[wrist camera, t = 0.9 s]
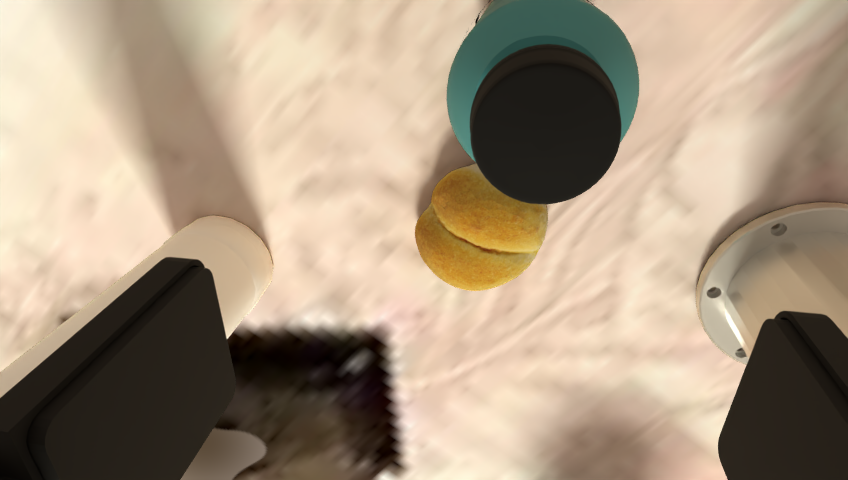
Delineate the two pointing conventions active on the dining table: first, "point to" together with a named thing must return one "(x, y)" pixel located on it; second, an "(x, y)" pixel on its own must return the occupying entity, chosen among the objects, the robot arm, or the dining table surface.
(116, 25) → the dining table surface
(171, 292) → the robot arm
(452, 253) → the bread roll
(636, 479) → the dining table surface
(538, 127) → the beverage bottle
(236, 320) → the bottle
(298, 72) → the dining table surface
